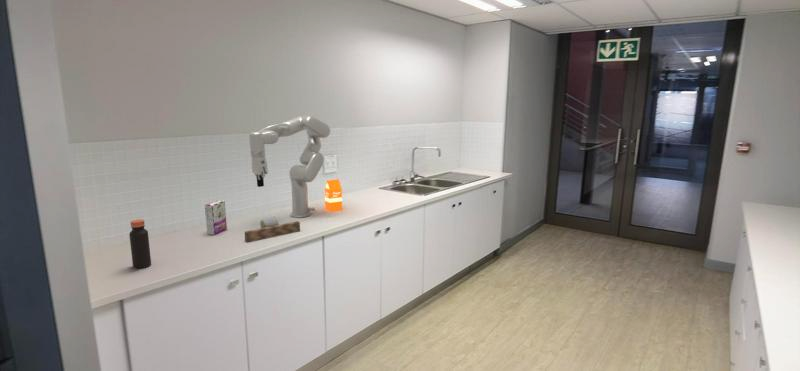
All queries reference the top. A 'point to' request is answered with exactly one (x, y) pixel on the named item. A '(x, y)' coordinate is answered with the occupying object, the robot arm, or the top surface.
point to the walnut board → (271, 231)
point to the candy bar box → (215, 217)
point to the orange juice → (333, 195)
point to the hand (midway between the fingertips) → (260, 186)
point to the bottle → (139, 245)
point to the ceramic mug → (269, 222)
